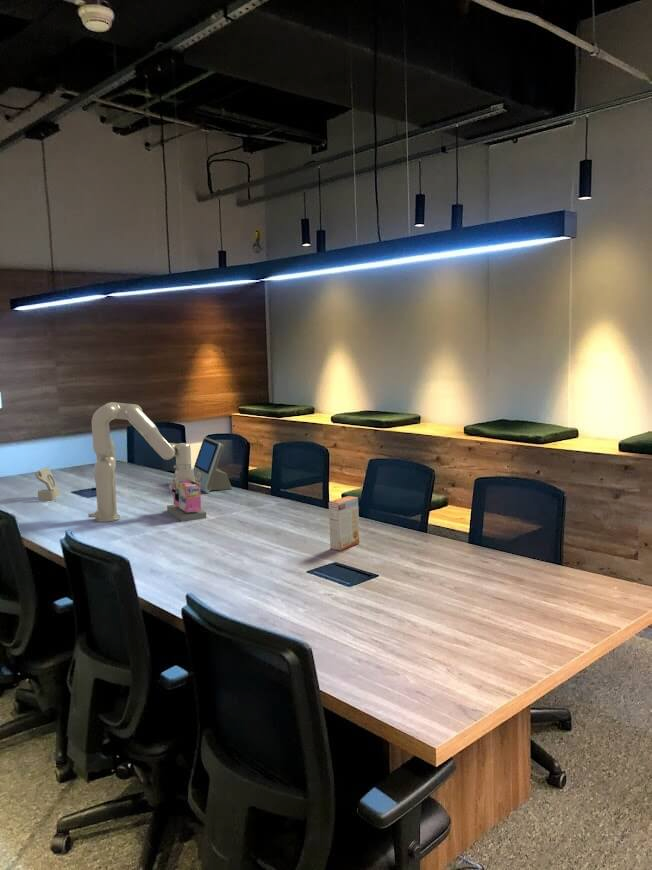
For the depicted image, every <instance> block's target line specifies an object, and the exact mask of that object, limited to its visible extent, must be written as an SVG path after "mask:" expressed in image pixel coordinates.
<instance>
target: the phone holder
mask: <svg viewBox="0 0 652 870" xmlns="http://www.w3.org/2000/svg"><path fill="white" fill-rule="evenodd" d="M34 473H35V474H34V476H35V477H36V479H37V480H38V481H39V482H41V483H42V484H44V485H45V487H46V488H47V489H39V490H37V497H38V499H37V501H38V500H39V501H52V500H56V497H57V496H59V495H61V494H62V493H61V492H60V489H59V486H58V485H57V482H56V480H55V478H54V475H53V474H52V471H51V470H50V468H49V467H45V468H41V469H40V470H37V471H35V472H34ZM56 501H57V500H56Z"/></svg>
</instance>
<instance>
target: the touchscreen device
mask: <svg viewBox="0 0 652 870" xmlns="http://www.w3.org/2000/svg"><path fill="white" fill-rule="evenodd" d="M224 447H225V445H224V444H223V443H222V442H219V441H216V440H214V439H211V438H209V437H203V440H202V442H201V446H200V448H199V451H198V454H197V457H196V460H195V463H194V466H193V468H192V469H193V471H194V477H195V480H196V481H197V482H199V483H200V491H202V492H204V493H205V494H209V493H210V491H223V490H232V489H233V488H232V484H231V482H230V479H229V476H228V474H227V472H224V471H223V470H221V469H219V468H218V466H219V463H220V459H221V455H222V453H223V450H224Z"/></svg>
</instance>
